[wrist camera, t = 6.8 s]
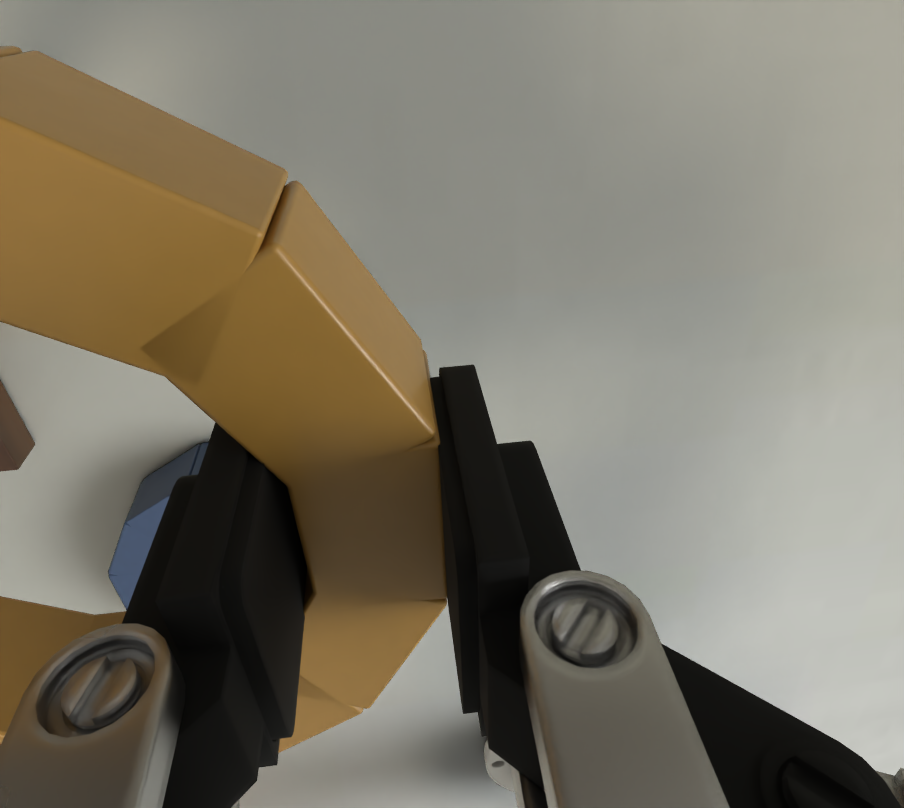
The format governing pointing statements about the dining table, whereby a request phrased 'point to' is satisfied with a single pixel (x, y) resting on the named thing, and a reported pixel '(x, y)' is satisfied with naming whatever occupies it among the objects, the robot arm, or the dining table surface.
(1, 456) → the stand
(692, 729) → the robot arm
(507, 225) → the dining table surface
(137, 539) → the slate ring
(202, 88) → the dining table surface
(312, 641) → the brass ring
